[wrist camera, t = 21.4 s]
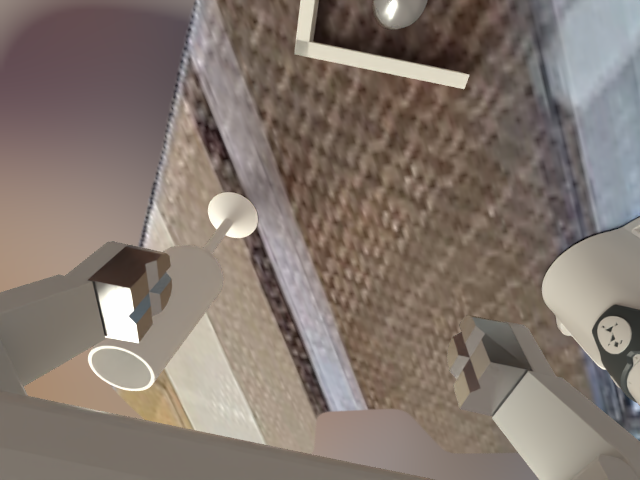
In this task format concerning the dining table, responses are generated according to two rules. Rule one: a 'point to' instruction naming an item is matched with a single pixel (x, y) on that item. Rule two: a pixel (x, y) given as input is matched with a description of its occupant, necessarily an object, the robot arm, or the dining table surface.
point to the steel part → (397, 12)
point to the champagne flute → (176, 301)
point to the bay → (366, 54)
